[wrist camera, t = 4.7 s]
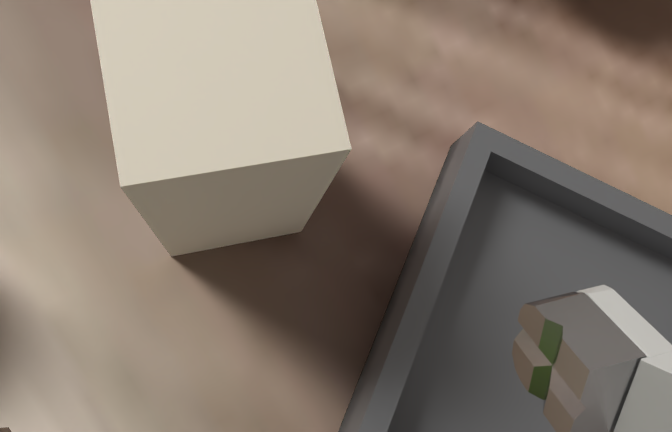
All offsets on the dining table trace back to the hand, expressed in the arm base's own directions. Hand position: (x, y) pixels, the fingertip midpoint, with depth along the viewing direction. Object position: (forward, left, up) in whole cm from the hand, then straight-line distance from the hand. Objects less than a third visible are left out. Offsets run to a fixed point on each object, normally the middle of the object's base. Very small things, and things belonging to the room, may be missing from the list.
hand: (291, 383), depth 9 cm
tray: (+4, -9, -10) cm, 14 cm away
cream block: (+5, +4, -10) cm, 12 cm away
